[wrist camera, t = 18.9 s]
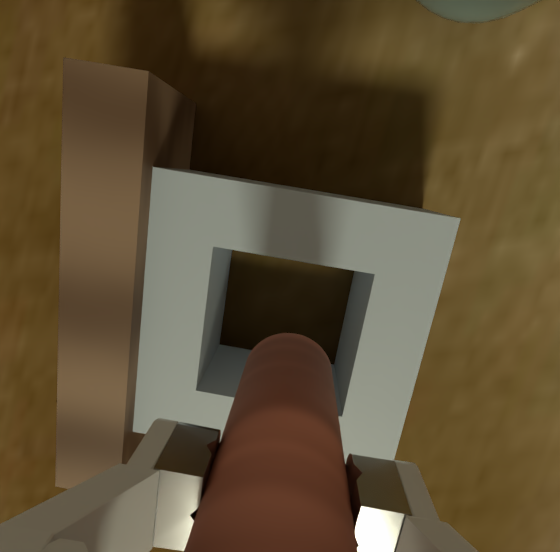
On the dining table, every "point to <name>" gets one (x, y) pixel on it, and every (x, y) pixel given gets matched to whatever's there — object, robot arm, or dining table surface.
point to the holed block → (294, 246)
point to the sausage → (279, 459)
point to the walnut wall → (107, 252)
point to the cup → (475, 9)
